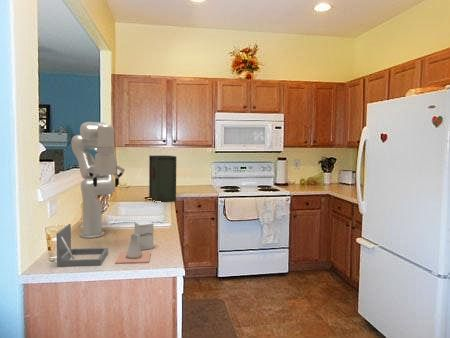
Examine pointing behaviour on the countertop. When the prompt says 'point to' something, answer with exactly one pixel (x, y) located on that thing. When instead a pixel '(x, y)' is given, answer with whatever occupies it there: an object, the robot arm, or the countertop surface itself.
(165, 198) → the dark green tall block
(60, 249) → the case
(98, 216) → the robot arm
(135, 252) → the flask
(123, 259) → the plate
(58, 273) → the countertop surface
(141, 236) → the supplement box
